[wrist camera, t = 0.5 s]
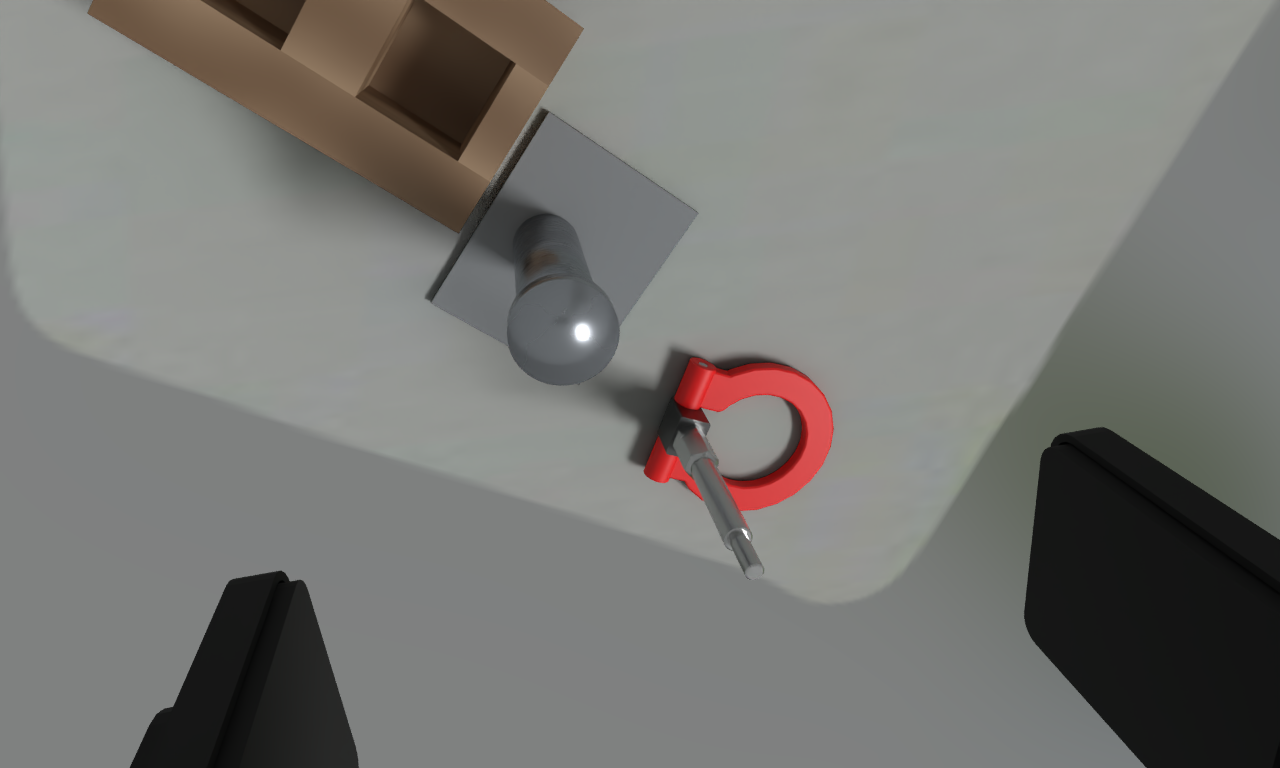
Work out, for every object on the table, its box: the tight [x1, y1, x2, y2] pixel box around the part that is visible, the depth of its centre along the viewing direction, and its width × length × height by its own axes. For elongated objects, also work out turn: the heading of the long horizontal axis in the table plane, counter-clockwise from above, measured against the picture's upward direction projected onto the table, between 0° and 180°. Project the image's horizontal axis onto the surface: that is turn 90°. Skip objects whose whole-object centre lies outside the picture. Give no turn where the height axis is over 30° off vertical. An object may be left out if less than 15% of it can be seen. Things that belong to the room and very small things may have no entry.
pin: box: [507, 214, 620, 385], centre depth 34 cm, size 4×4×11 cm
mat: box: [431, 112, 698, 385], centre depth 39 cm, size 10×8×1 cm
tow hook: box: [644, 357, 834, 580], centre depth 40 cm, size 8×13×9 cm
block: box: [88, 0, 584, 233], centre depth 32 cm, size 9×14×4 cm, turn 55°
